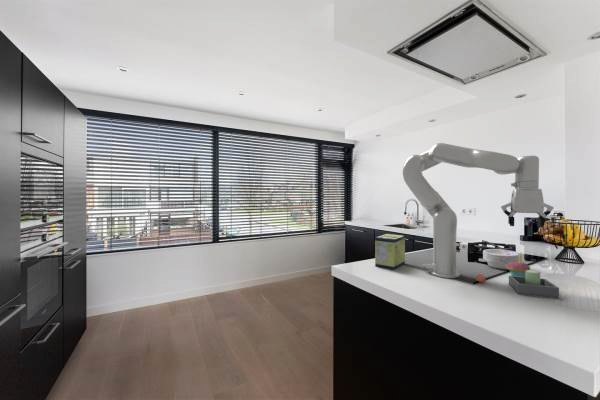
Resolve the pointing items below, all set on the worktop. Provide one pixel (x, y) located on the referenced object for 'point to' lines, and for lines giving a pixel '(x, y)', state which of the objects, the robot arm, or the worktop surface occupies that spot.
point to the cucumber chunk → (532, 277)
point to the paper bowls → (500, 257)
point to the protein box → (389, 251)
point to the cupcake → (517, 268)
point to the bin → (534, 287)
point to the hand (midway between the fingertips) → (525, 226)
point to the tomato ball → (480, 278)
